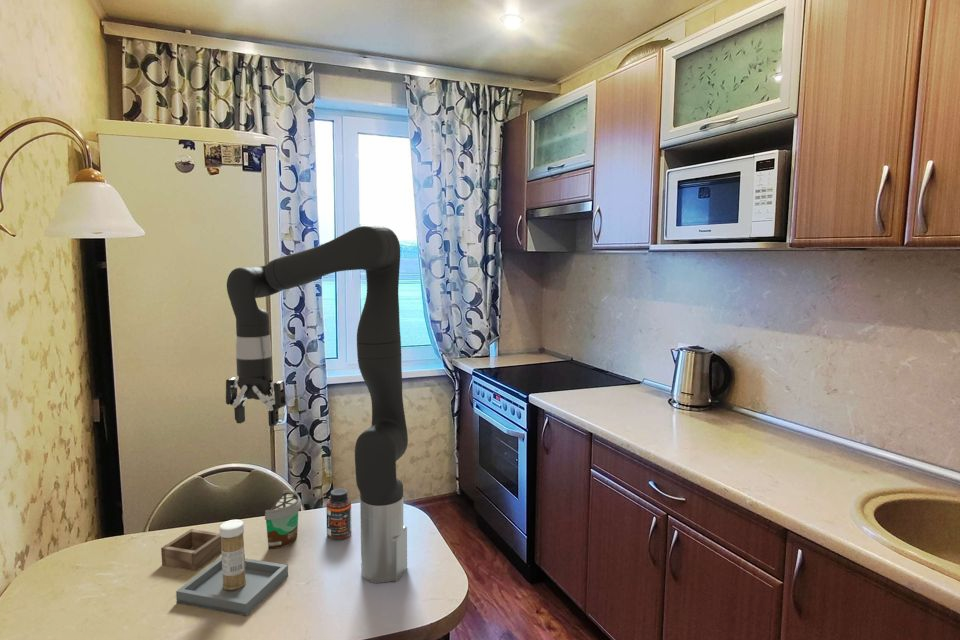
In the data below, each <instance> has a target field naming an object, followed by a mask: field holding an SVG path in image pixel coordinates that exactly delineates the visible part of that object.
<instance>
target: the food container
mask: <svg viewBox="0 0 960 640" xmlns="http://www.w3.org/2000/svg"><path fill="white" fill-rule="evenodd" d="M282 491H283V492H282V495H281V496H280V497H279V498H278V499H277V500H276V501H275V502H274V503H273V504H272V506H271V508H269V509H266V510H264V511H265V513H264V520H265V522H266V523H265V524H266V537H267V546H268V547H267V548H268V549H269V550H271V549H273V550H274V549H280V548H283V547H287V546H289V545H291V544H292V543H294V542H295V541H296V540H297V538H298V532H299V531H298V529H299V528H298V527H299V510H300V509H301V507H302V502H301V501H302V500H301V498H300V496H299V494H298V493H297V492H295V491H292V490H287V489H284V490H282Z"/></svg>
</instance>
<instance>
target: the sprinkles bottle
mask: <svg viewBox="0 0 960 640" xmlns="http://www.w3.org/2000/svg"><path fill="white" fill-rule="evenodd" d="M219 533H220V536H221V553H220V554H221V557H222V573H223V588H224V589H225V590H229V591H232V590H237V589H239V588H241V587H243V586H244V585H245V583H246V579H245V558H246V555H245V541H244V533H245V525H244V521H243V520H241V519H230V520H227V521H224V522H222V523H221V524H220V526H219Z"/></svg>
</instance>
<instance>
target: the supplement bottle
mask: <svg viewBox="0 0 960 640" xmlns="http://www.w3.org/2000/svg"><path fill="white" fill-rule="evenodd" d="M329 497H330V498H329V499H328V500H327V502H326V536H327V537H328V538H329V539H330V540H334V541H340V540H341V541H342V540H344V539H347V538H349V537H350V536H351V534H352V501H351V499H350V498H349V497H348V490H347V489H345V488H334V489H332V490H331V491H330V496H329Z"/></svg>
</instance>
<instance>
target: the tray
mask: <svg viewBox="0 0 960 640" xmlns="http://www.w3.org/2000/svg"><path fill="white" fill-rule="evenodd" d="M288 577H289V565H287V564H282V563H276V562H271V561H265V560H257V559H252V558H246V557H245V579H246V583H245V585H244V586H243V587H241V588H239V589H237V590H232V591H229V590H225V589H224V588H223V573H222V556H221V557H220V558H218V559H217V560H216V561H214V562H213V563H212V564H210V565H209V566H207V567H206V568H204V570H202V571H201V572H199V573H198V574H197V575H195V576H194V577H193V578H191V579H190V580H189V581H188V582H186V583H185V584H184V585H182V586H181V587H179V588H178V589H177V590H175V600H176V604H181V605H187V606H191V607H196V608H202V609H206V610H211V611H218V612H223V613H227V614H233V615H238V616H242V617H243V616H244V617H247V616H249V614H250V613H252V612H253V610H255V609H256V608H257V607H258V606H259V605H260V603H262V602H263V601H264V600H265V599H266V598H267V597H268V596H269V595H270V594H271V593H273V592H274V590H275V589H276V588H277V587H278V586H279V585H281V584H282V582H284V581H285V580H286V579H287V578H288Z"/></svg>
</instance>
